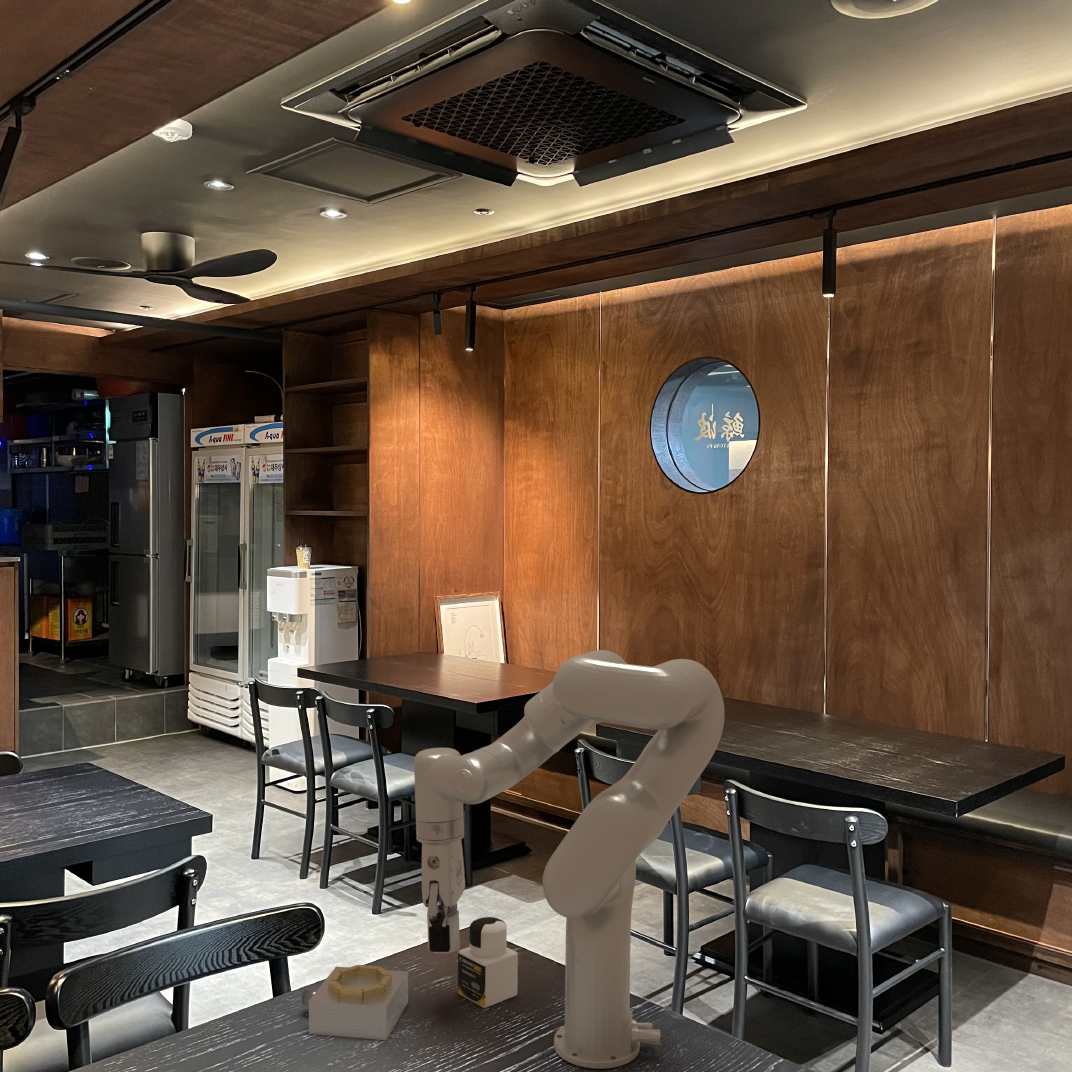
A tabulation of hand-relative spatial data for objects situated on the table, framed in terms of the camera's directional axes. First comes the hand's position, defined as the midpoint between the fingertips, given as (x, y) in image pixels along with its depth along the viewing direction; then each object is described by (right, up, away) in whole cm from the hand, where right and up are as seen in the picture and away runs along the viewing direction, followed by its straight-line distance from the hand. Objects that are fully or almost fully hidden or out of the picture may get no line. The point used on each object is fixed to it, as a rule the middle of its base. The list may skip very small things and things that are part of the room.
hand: (444, 942), depth 158 cm
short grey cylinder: (0, -1, 0) cm, 1 cm away
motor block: (-14, -10, -3) cm, 18 cm away
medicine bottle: (+7, -11, +6) cm, 14 cm away
